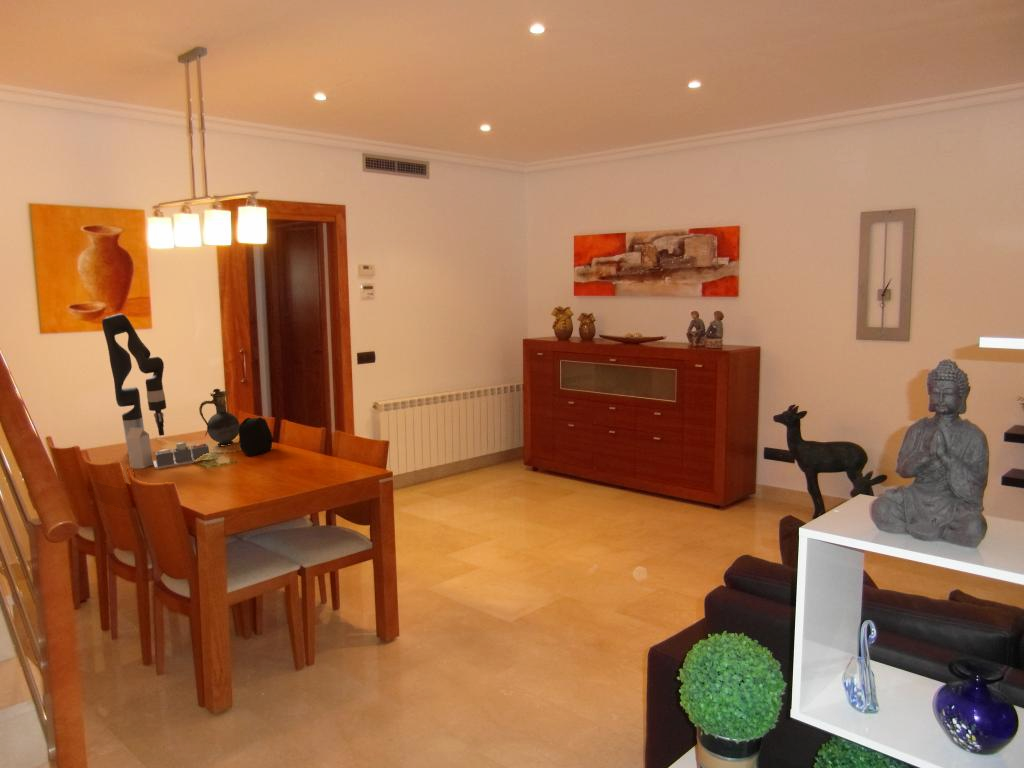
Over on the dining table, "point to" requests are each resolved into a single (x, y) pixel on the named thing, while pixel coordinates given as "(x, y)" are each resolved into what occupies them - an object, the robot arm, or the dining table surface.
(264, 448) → the black rounded dome
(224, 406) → the pitcher
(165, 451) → the cream white egg
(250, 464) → the dining table surface
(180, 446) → the pale green egg
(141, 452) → the milk carton
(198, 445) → the brown egg
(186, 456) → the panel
